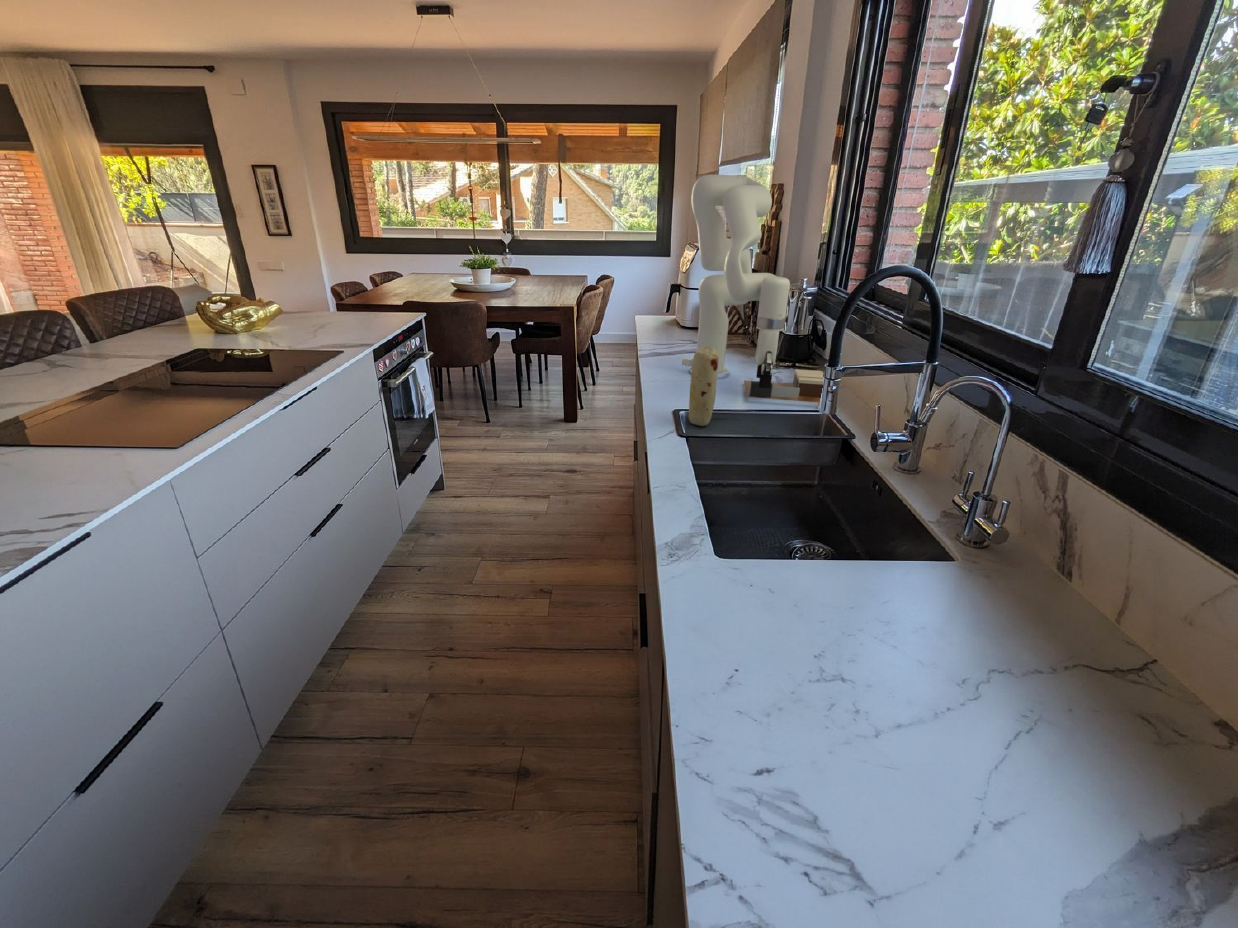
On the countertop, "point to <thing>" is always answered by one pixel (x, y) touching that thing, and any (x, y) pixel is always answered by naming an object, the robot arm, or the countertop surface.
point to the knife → (773, 391)
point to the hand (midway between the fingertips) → (763, 382)
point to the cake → (806, 375)
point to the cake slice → (810, 387)
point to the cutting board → (800, 398)
